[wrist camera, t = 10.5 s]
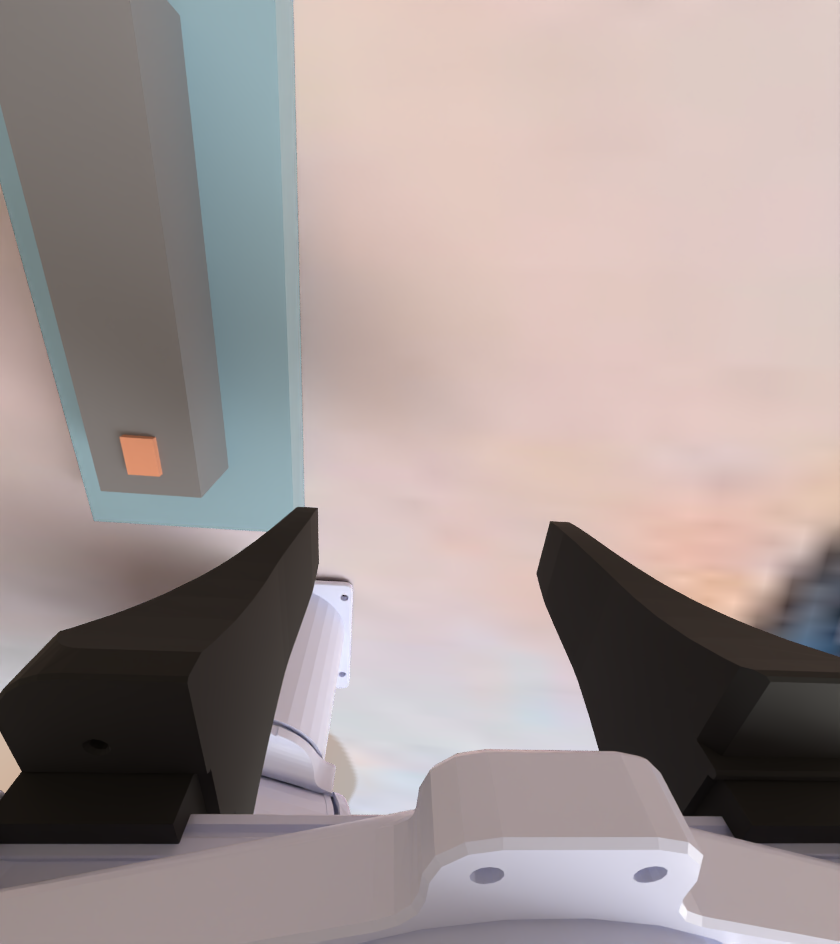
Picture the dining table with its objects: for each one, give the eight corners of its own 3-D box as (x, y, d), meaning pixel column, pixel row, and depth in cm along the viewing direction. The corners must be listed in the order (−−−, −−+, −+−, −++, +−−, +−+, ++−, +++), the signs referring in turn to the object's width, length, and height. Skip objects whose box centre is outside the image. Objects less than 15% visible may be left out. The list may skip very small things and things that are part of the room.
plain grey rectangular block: (242, 451, 22) (198, 500, 17) (164, 445, 21) (96, 493, 17) (206, 46, 15) (116, -59, 10) (90, 29, 15) (-58, -88, 10)
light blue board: (304, 508, 24) (294, 533, 22) (124, 497, 23) (94, 520, 21) (290, -110, 14) (268, -185, 12) (-32, -166, 13) (-123, -259, 11)
